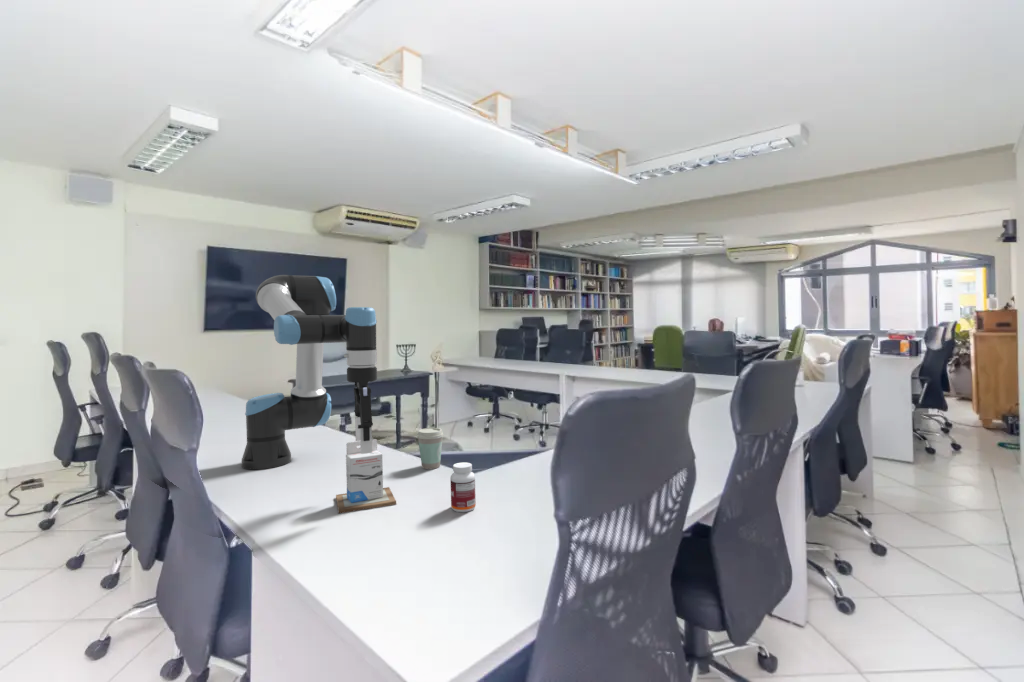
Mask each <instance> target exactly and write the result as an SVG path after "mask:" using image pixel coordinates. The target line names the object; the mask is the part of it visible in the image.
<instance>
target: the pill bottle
mask: <svg viewBox="0 0 1024 682" xmlns="http://www.w3.org/2000/svg"><path fill="white" fill-rule="evenodd" d="M452 472H453V473H451V475H450V506H451V509H452V510H453V511H454V512H456V513H466V512H467V513H468V512H471V511H473V510H474V509H476V506H477V505H476V504H477V503H476V501H477V499H476V476H475V473H474V472H473V464H472V463H470V462H457V463H454V464H453V465H452Z"/></svg>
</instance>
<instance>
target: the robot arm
mask: <svg viewBox="0 0 1024 682" xmlns="http://www.w3.org/2000/svg"><path fill="white" fill-rule="evenodd" d="M255 299H256V303H257V304H258V306H259V307H260V309H261V310H262V311H264V312H266V313H268V314H269V316H271V318H272V320H274V321H273V336H274V338H275V341H276V342H277V344H279V345H290V346H292V345H296V361H295V365H296V366H295V386H294V387H292V389H290V396H289V395H288V396H285V395H284V393H283V392H275V393H267V394H262V395H258V396H255V397H252V398H250V399H248V400H247V401H246V404H245V413H244V415H245V421H246V422H245V424H246V425H245V426H246V444H245V445H246V446H245V448H244V452H243V455H242V457H241V468H242V469H246V470H265V469H272V468H278V467H281V466H284V465H287V464H289V463H290V462H291V461H292V453H291V450H290V448H289V445H288V442H287V439H286V431H290V430H298V429H305V428H315V427H319V426H322V425H325V424H326V423H327V422H328V421H329V419H330V418H331V413H332V397H331V395H330V393H328V392H327V389H326V388H325V387H324V386H323V367H324V366H323V365H324V344H329V343H330V344H331V343H333V344H337V343H346V346H345V348H346V353H344V355H343V358H346V365H347V366H348V367H347V368H346V380H347V382H349V383H353V384H354V388H353V393H354V394H353V396H354V397H353V398H354V409H353V411H354V416H355V417H354V418H355V419H354V420H355V426H354V428H355V442H356V441H360V445H359V446H360V447H359V448H361V454H365V453H372V440H373V437H372V436H373V434H372V433H373V432H372V430H373V429H372V428H373V425H374V423H373V415H372V412H373V411H372V396H371V395H372V394H371V393H372V388H371V387H370V386H369V383H371V382H375V381H376V380H378V368H377V366H376V365H377V364H378V356H377V355H378V351H377V322H378V321H377V318H376V317H377V315H376V310H375V308H373V307H369V306H368V307H367V306H366V307H365V306H358V307H357V306H353V307H349V306H348V307H347V308H346V309H345V314H330V312H333V311H335V310H336V306H337V295H336V290H335V285H334V284H333V282H332V281H331V279H330V278H328V277H325V276H318V275H317V276H316V275H295V274H294V275H292V274H291V275H289V274H279V275H273V276H272V277H269V278H267V279H265V280H264V281H262V282H261V283H260V284H259V285H258V287H257V289H256V291H255Z"/></svg>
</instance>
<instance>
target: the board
mask: <svg viewBox="0 0 1024 682" xmlns="http://www.w3.org/2000/svg"><path fill="white" fill-rule="evenodd" d="M335 499H336V505H337V511H338V514H344V513H345V514H346V513H351V512H357V511H362V510H370V509H375V508H383V507H388V506H395V505H397V500H396V498H395V496H394V495H393V492H392V491H391V488H390V486H386V487H383V497H381V498H376V499H371V500H365V501H360V502H355V503H351V502H350V501H349V500H348V499H347V492H346V493H340V494H336V495H335Z"/></svg>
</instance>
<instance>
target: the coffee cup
mask: <svg viewBox="0 0 1024 682" xmlns="http://www.w3.org/2000/svg"><path fill="white" fill-rule="evenodd" d="M443 437H444V433H443V429H442V428H440V427H426V428H421V429H419V430H418V431H417V435H416V438H417V440H418V448H419V455H420V462H421V468H422V469H423V470H424V469H425V470H434V469H439V468H440V467H441V459H442V447H443V446H442V445H443Z"/></svg>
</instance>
